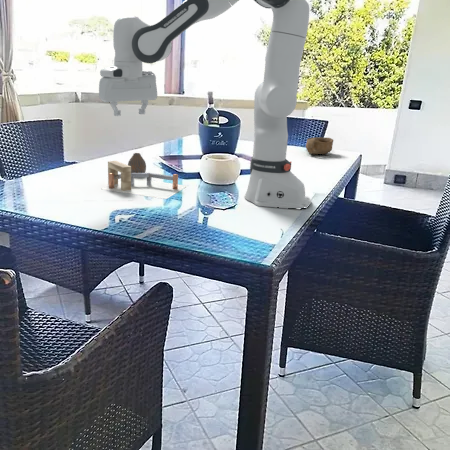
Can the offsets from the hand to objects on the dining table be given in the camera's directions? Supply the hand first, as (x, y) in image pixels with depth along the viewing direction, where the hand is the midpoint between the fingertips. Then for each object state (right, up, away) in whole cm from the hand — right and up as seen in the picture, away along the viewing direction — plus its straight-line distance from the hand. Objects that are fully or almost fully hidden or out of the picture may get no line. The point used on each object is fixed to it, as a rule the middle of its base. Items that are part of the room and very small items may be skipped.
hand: (129, 115), depth 162 cm
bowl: (+79, 0, +90) cm, 119 cm away
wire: (+3, -24, +7) cm, 25 cm away
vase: (-2, -18, +26) cm, 31 cm away
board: (+4, -24, +8) cm, 26 cm away
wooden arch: (-5, -23, +7) cm, 25 cm away
